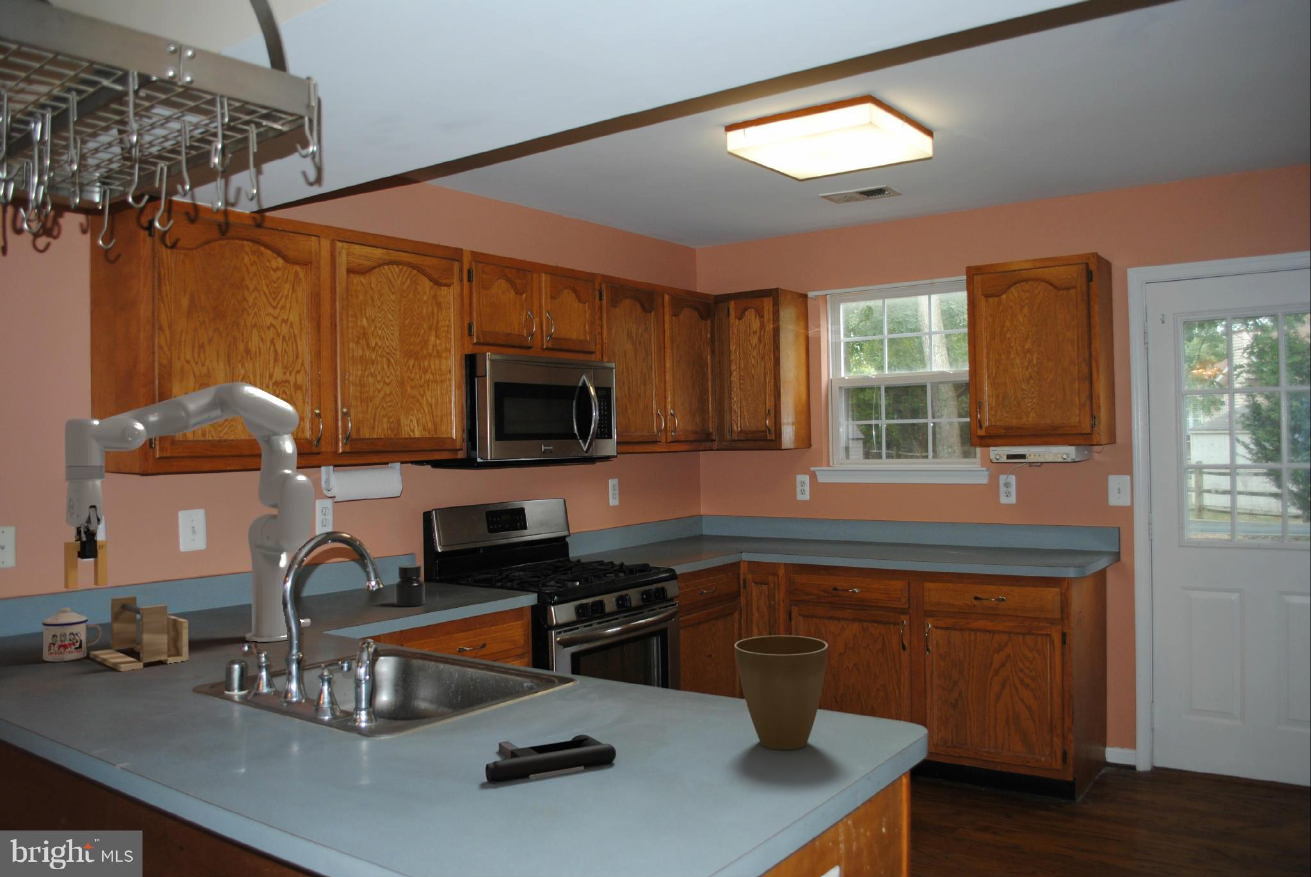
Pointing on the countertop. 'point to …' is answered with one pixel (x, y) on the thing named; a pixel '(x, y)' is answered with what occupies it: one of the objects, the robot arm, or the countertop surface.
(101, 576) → the yellow wooden arch
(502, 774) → the door handle
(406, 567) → the ink bottle
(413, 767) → the countertop surface
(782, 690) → the plant pot
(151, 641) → the wooden rack
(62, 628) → the teacup with lid
